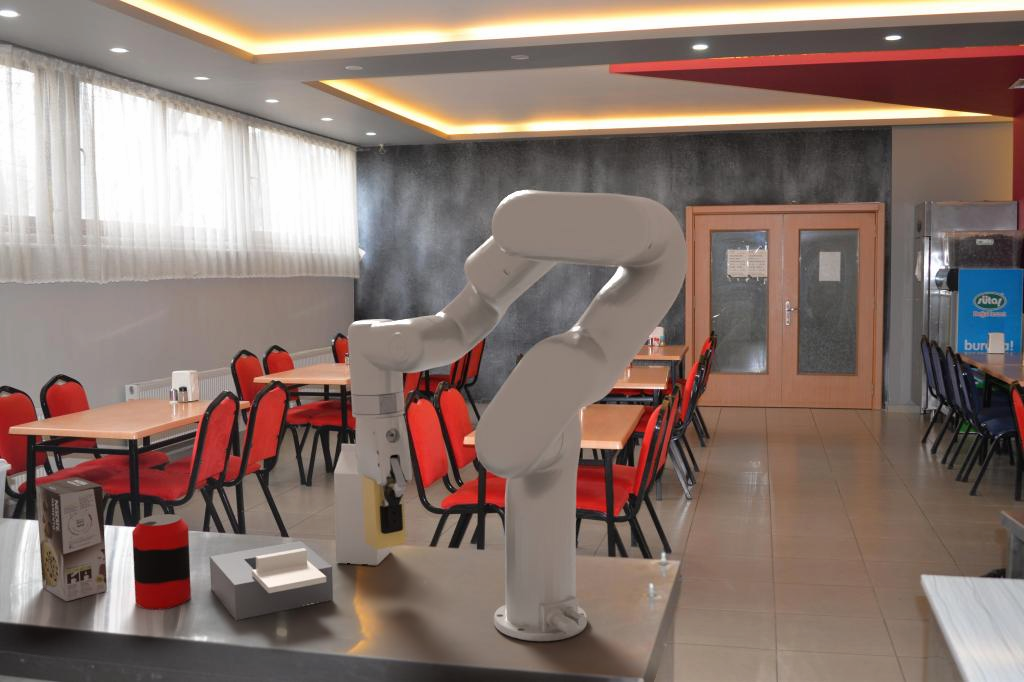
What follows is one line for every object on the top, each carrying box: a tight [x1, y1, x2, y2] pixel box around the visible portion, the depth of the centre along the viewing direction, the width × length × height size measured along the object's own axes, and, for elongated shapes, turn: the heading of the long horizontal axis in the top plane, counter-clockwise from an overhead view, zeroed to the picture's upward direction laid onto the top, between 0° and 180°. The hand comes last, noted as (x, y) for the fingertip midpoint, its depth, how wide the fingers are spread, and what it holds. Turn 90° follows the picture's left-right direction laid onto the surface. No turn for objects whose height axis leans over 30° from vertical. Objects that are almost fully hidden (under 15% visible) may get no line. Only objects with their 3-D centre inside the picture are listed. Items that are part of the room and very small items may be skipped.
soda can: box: [131, 513, 192, 610], centre depth 136 cm, size 8×8×12 cm
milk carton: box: [333, 443, 393, 566], centre depth 154 cm, size 7×7×19 cm
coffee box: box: [35, 476, 108, 602], centre depth 140 cm, size 9×6×16 cm
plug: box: [362, 476, 407, 550], centre depth 137 cm, size 4×4×12 cm
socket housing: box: [209, 540, 334, 621], centre depth 138 cm, size 14×14×5 cm
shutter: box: [252, 548, 326, 593], centre depth 131 cm, size 8×8×3 cm
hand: (384, 526), depth 138 cm, fingers closed on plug, 4 cm apart
